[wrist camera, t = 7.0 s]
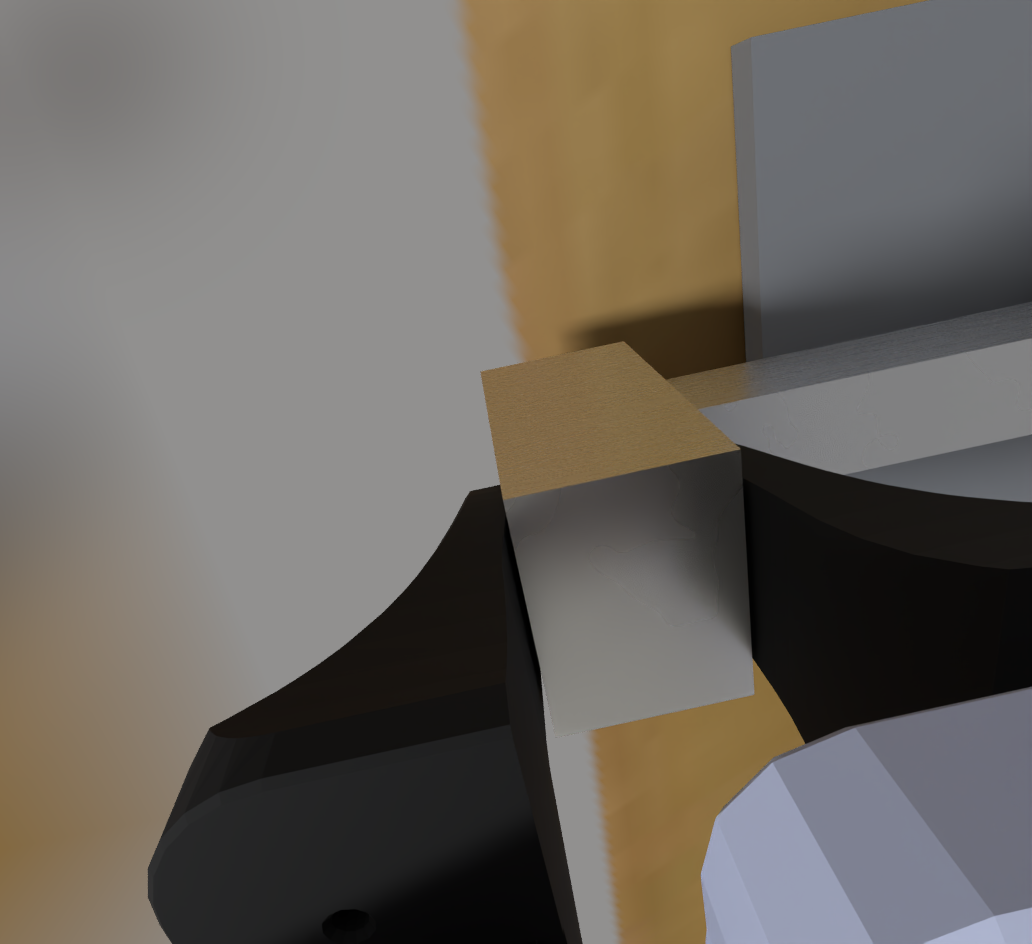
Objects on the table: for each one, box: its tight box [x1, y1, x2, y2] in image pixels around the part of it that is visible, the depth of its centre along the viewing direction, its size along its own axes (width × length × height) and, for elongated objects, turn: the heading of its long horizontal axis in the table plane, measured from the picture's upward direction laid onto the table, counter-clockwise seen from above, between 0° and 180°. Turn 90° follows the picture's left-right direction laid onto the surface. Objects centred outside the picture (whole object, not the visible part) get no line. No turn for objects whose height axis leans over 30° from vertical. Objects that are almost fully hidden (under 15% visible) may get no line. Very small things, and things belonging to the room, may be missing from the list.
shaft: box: [481, 302, 1032, 738], centre depth 12 cm, size 4×13×6 cm, turn 101°
